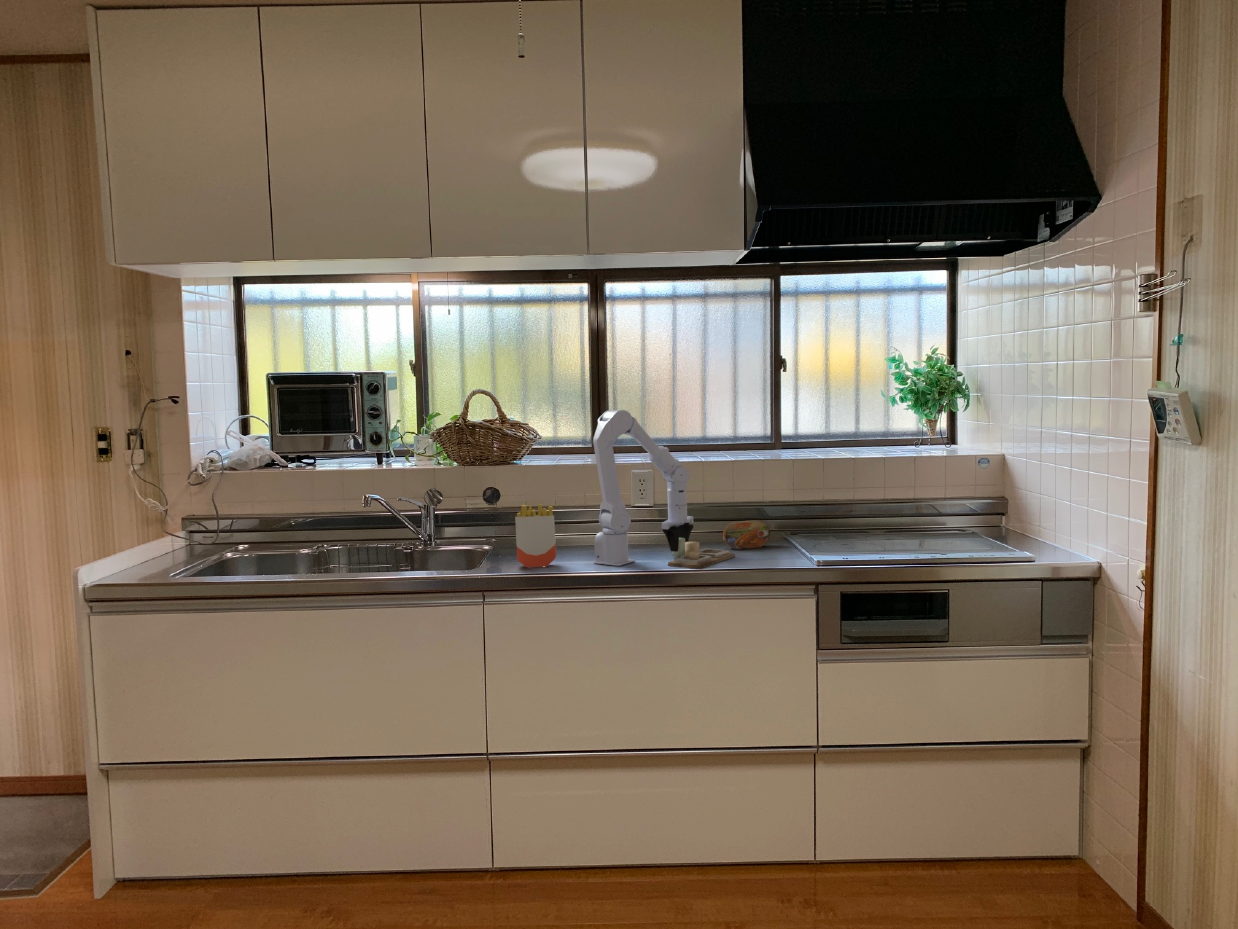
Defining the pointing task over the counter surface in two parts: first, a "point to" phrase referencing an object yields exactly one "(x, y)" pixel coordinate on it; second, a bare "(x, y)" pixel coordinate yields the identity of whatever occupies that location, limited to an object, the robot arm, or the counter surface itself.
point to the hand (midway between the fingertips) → (678, 549)
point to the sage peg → (680, 548)
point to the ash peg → (692, 550)
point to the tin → (746, 534)
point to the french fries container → (535, 536)
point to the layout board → (702, 559)
